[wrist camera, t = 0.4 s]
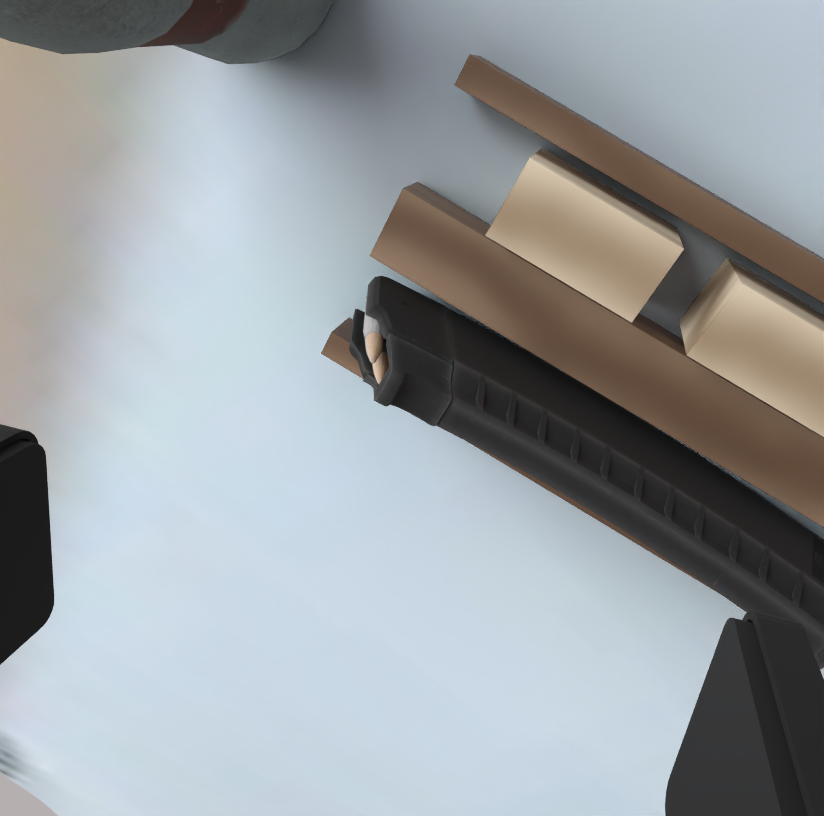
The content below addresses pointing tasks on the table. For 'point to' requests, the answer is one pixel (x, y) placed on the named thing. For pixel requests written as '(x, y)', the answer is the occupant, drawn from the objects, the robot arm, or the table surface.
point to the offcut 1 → (586, 234)
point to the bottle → (165, 25)
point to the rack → (599, 326)
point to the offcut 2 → (760, 341)
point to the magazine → (589, 452)
